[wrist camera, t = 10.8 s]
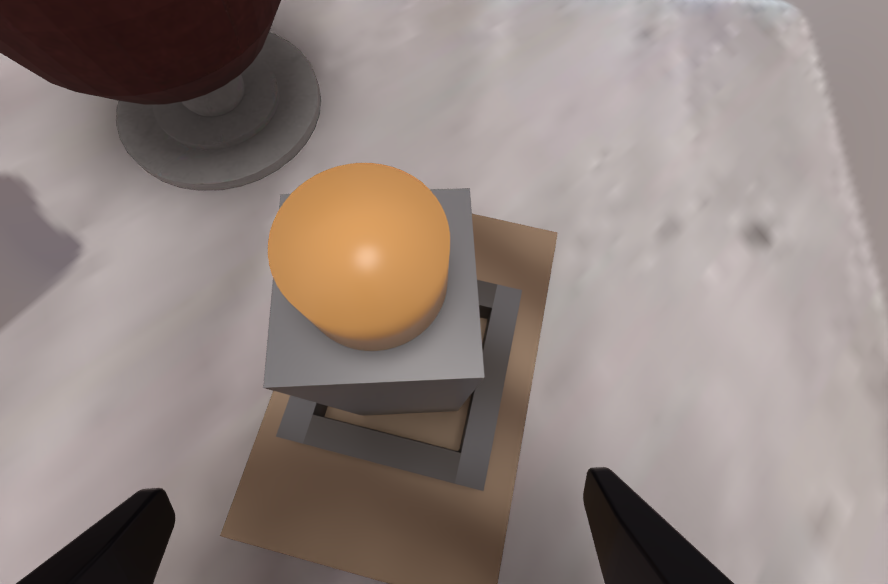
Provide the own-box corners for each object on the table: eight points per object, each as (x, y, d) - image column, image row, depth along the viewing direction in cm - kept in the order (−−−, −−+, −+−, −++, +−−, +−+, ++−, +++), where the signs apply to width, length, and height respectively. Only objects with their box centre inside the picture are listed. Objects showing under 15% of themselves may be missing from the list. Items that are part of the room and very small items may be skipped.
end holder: (489, 603, 18) (499, 633, 16) (230, 531, 19) (194, 547, 16) (552, 240, 24) (568, 214, 21) (351, 195, 25) (341, 164, 22)
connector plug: (457, 411, 20) (498, 361, 7) (362, 415, 20) (213, 373, 7) (452, 319, 21) (477, 131, 8) (363, 323, 21) (243, 137, 8)
